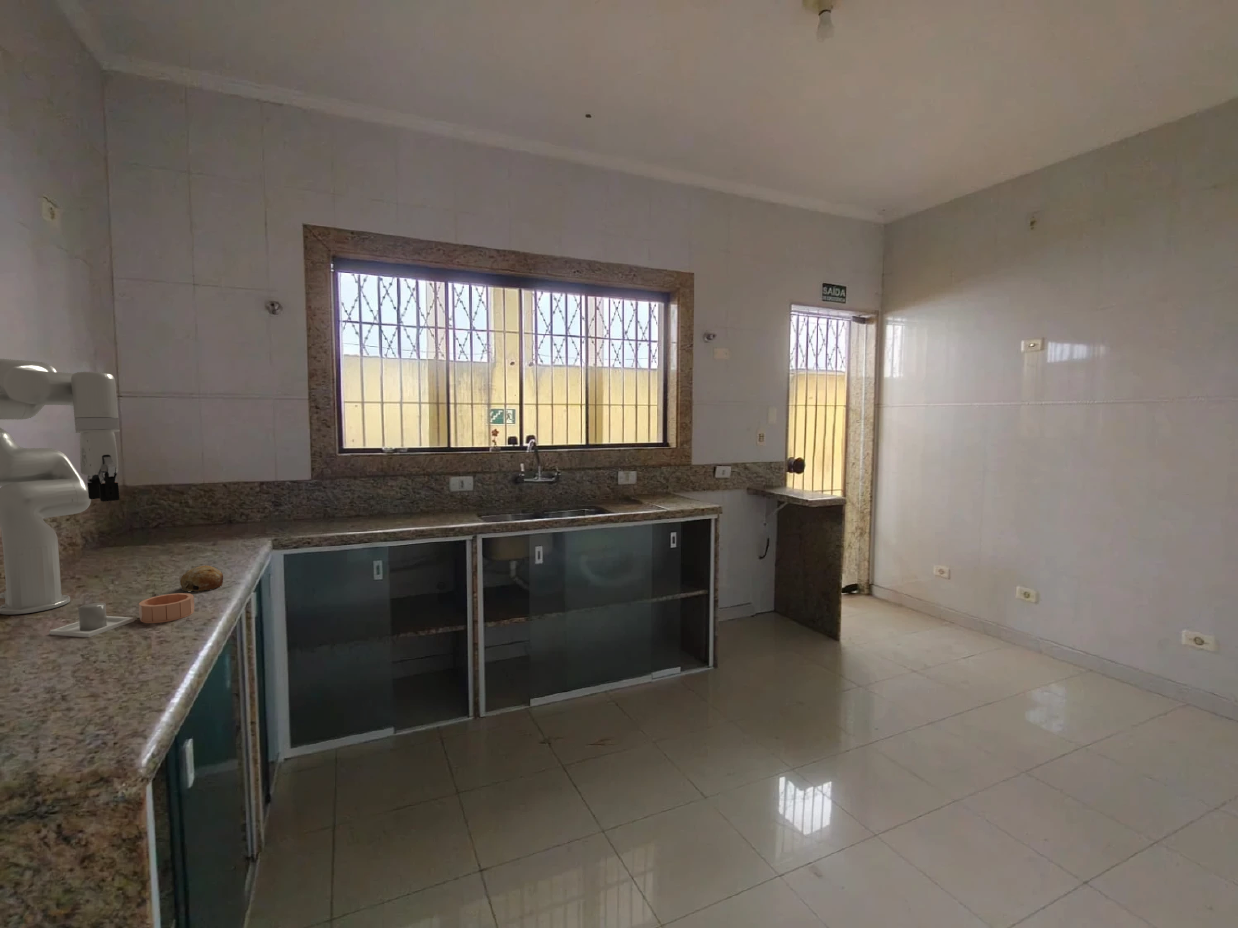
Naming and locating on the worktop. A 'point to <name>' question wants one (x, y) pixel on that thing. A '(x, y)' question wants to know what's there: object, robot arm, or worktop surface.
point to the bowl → (166, 607)
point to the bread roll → (201, 579)
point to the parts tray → (75, 630)
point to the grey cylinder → (92, 616)
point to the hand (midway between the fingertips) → (104, 499)
